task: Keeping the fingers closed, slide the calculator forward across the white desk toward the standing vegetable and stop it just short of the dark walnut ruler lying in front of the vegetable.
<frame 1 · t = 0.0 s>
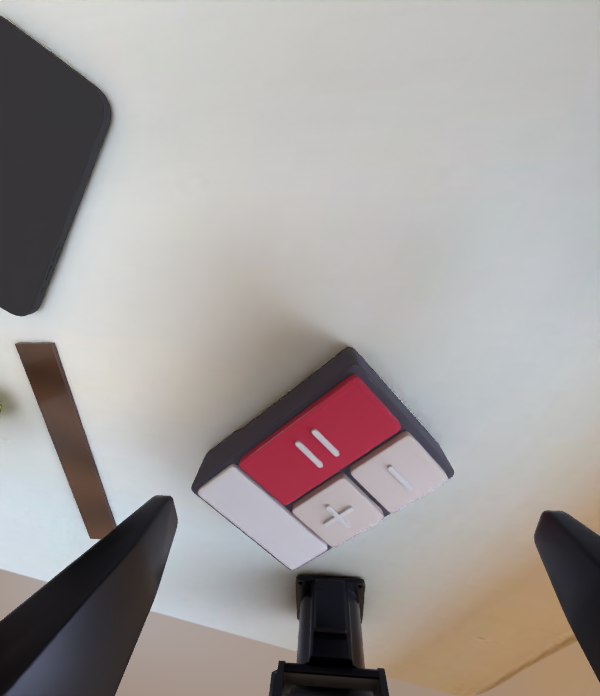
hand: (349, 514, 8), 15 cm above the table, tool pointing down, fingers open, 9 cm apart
phone: (18, 187, 20), on the table
vegetable: (9, 405, 26), on the table
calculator: (319, 448, 26), on the table
ruler: (75, 453, 28), on the table
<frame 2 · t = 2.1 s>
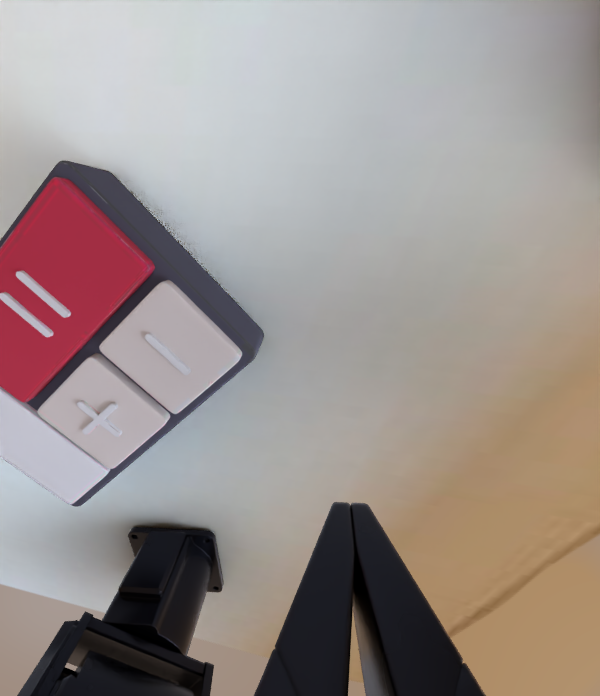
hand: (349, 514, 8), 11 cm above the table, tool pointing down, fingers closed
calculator: (112, 343, 19), on the table
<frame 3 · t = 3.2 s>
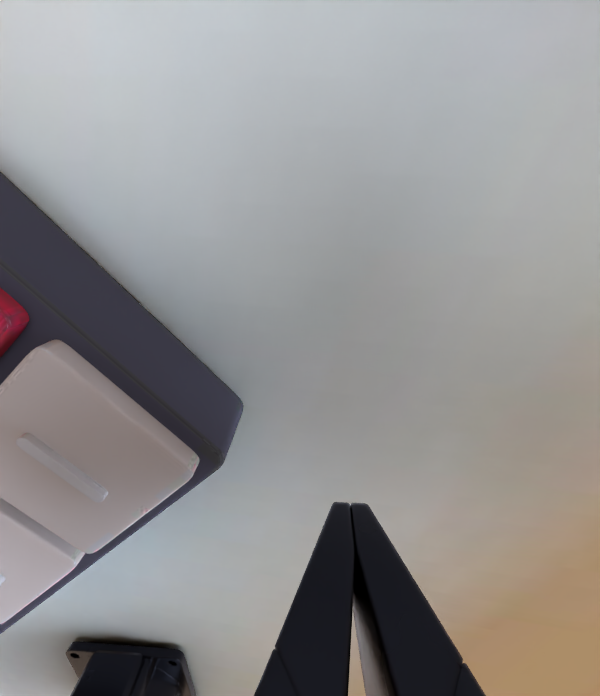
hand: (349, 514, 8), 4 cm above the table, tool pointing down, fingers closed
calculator: (16, 411, 13), on the table
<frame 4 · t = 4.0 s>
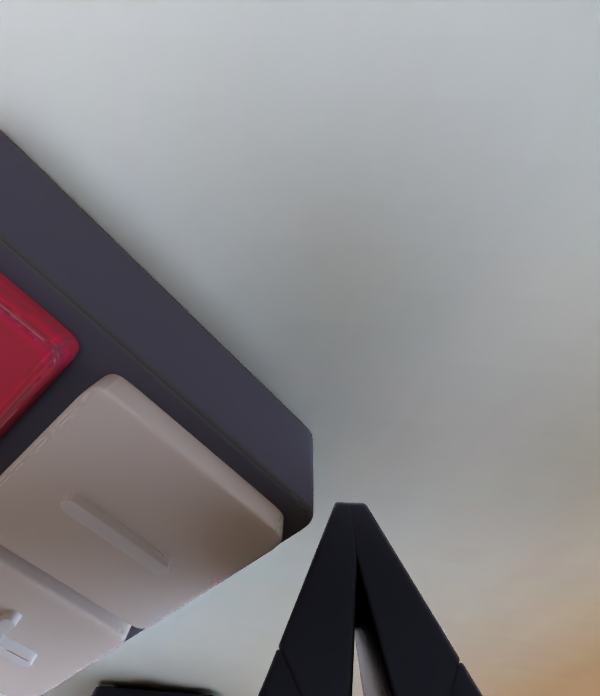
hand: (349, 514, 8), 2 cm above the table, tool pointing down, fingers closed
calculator: (41, 442, 11), on the table, touching gripper
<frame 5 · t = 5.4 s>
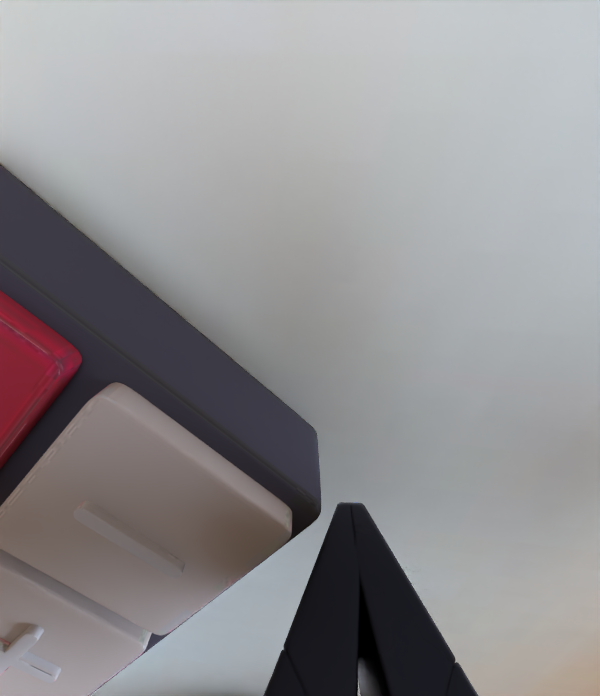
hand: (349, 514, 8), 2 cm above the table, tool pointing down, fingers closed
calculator: (53, 460, 11), on the table, touching gripper
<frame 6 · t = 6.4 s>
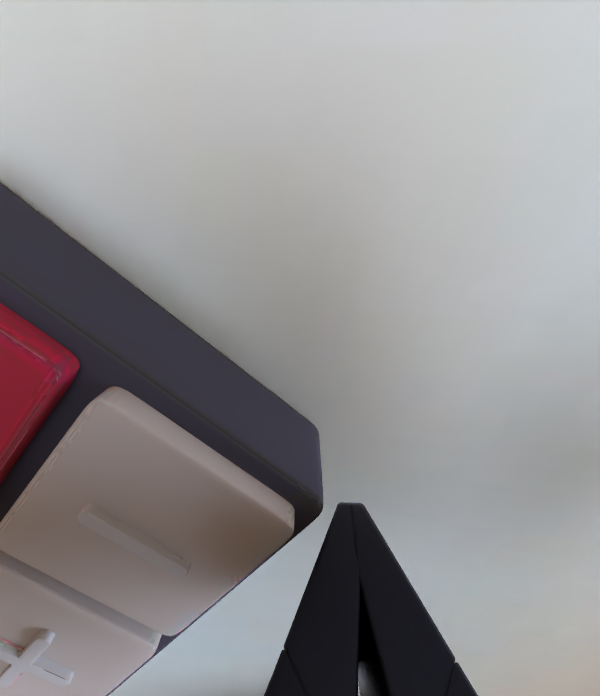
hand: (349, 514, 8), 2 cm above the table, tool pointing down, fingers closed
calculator: (60, 468, 11), on the table, touching gripper
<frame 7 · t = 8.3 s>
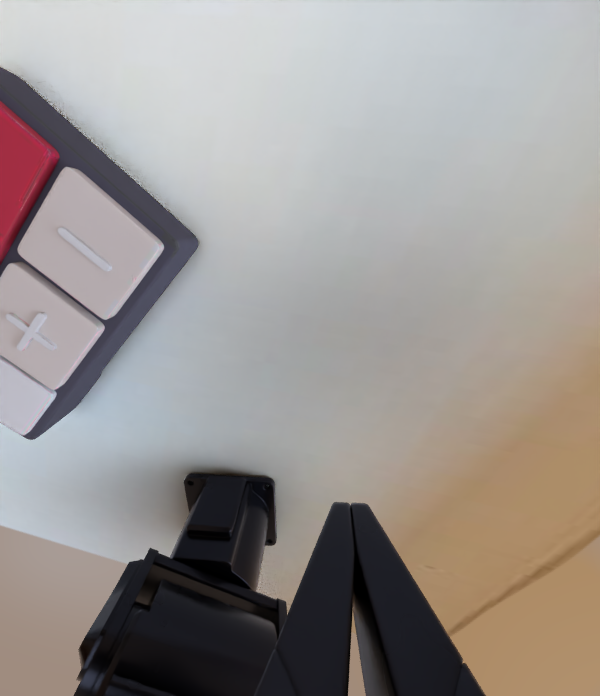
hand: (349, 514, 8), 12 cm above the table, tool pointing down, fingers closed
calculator: (53, 271, 19), on the table
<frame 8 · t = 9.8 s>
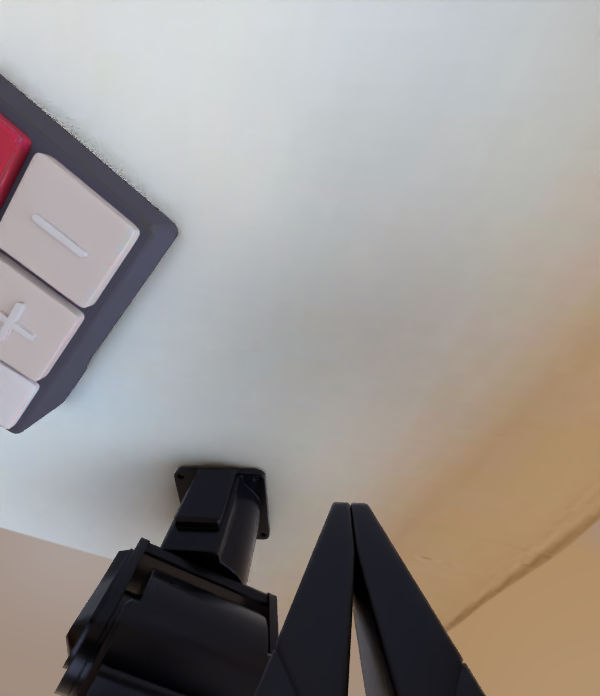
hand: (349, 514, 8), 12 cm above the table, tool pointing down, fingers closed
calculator: (35, 264, 19), on the table
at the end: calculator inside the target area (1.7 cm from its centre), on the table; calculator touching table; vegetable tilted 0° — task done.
